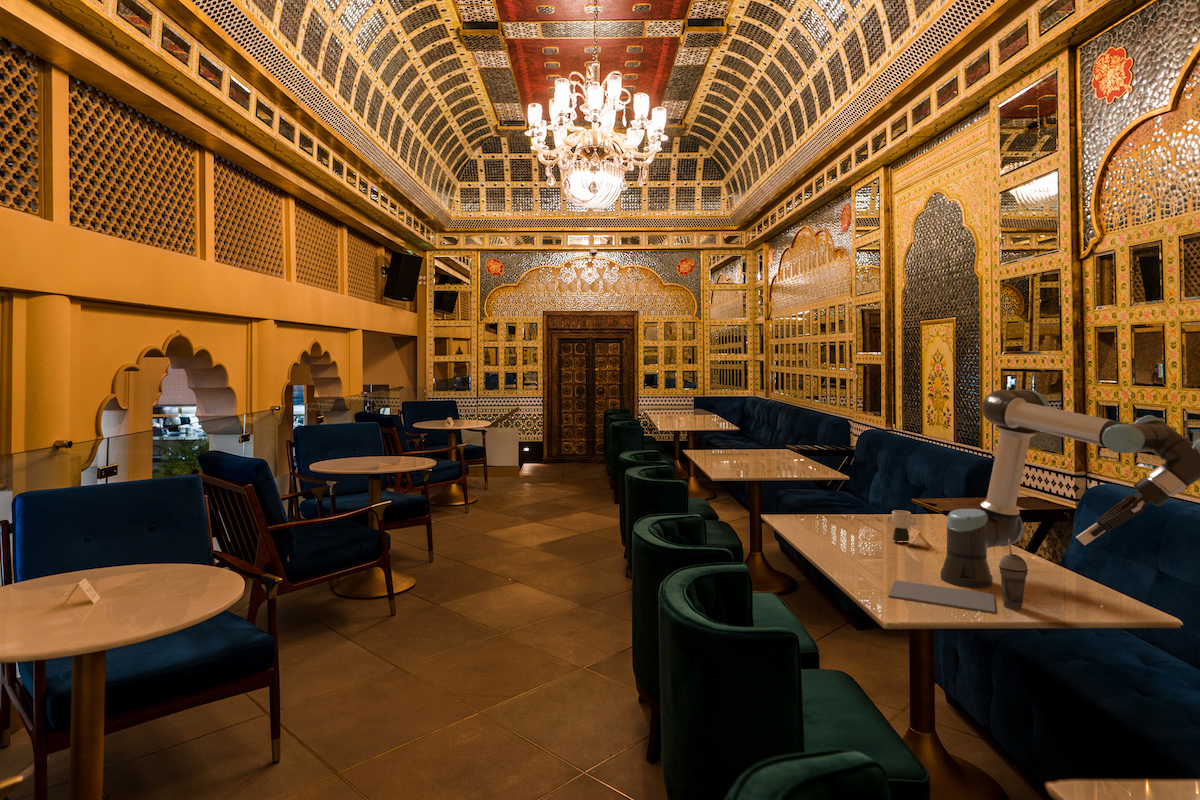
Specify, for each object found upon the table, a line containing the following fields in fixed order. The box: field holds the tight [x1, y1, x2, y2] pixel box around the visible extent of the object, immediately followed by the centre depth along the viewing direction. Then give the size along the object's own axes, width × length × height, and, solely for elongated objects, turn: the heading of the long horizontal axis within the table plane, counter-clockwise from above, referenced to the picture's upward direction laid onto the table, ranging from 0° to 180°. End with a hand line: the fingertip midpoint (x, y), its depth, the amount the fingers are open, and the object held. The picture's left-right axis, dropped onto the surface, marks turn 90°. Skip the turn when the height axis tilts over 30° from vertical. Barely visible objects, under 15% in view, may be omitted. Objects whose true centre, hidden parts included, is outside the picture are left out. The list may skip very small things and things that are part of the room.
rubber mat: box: [888, 579, 996, 614], centre depth 198 cm, size 28×18×1 cm, turn 60°
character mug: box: [886, 509, 917, 542], centre depth 267 cm, size 11×7×13 cm, turn 69°
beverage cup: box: [998, 539, 1029, 611], centre depth 189 cm, size 7×7×20 cm
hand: (1080, 541), depth 181 cm, fingers closed
